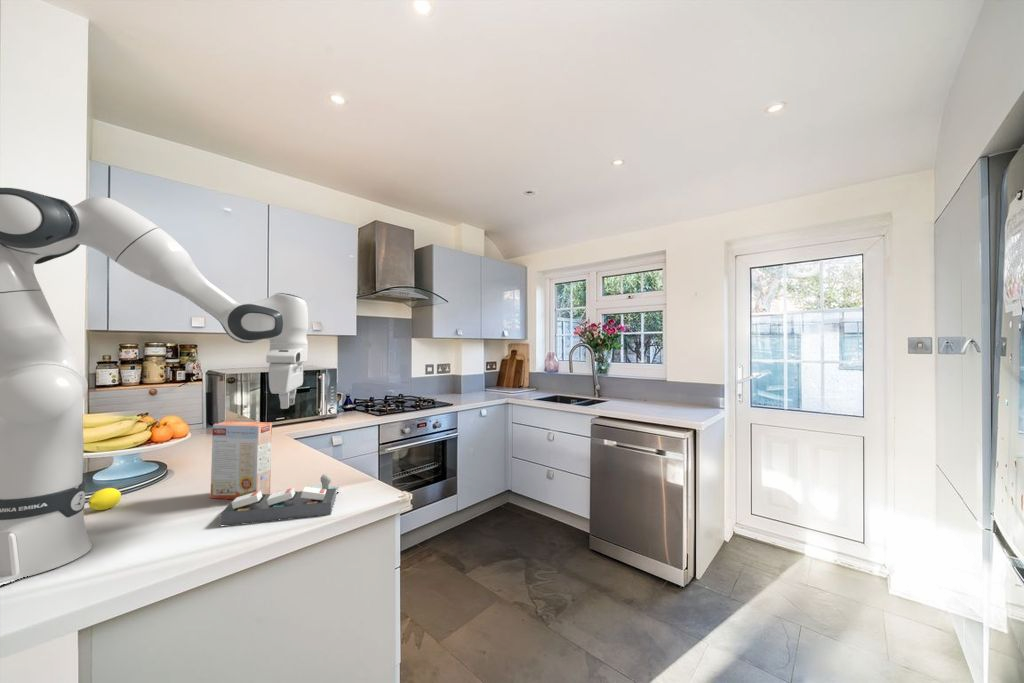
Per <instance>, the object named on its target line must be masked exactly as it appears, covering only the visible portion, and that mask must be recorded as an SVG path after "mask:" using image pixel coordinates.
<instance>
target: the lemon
mask: <svg viewBox="0 0 1024 683" xmlns="http://www.w3.org/2000/svg"><path fill="white" fill-rule="evenodd" d="M121 499H122V492H121V491H119V490H118V489H117V488H114V487H106V488H102V489H99V490H98V491H96V492H94V493H93V494H92V495H91V496H90V497H89V498H88V502H87V505H88V507H89V509H93V510H94V511H105V510H109V508H110V509H111V508H113V507H116V505H117V504H118V503H120V501H121Z"/></svg>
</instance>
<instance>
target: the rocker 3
mask: <svg viewBox="0 0 1024 683" xmlns="http://www.w3.org/2000/svg"><path fill="white" fill-rule="evenodd" d="M326 491H327V489H319V488H313V487H312V486H311V487H310V486H304V488H303V490H302V494H301V498H308V499H316V500H323V499H324V497H325V494H326Z"/></svg>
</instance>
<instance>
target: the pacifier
mask: <svg viewBox="0 0 1024 683" xmlns="http://www.w3.org/2000/svg"><path fill="white" fill-rule="evenodd" d="M319 481H320V483H321V485H314V486H313V487H312V488H319V489H333V488H336V490H337V491H336V494H338V493H337V492H339V491H340V492H341V490H340V489H339V488H340V487H339V486H330V483H331V482H332V478H331V476H330V475H328V474H326V473H324V474H322V475H321V476H320V479H319ZM340 492H339V493H340Z"/></svg>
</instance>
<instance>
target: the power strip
mask: <svg viewBox="0 0 1024 683" xmlns="http://www.w3.org/2000/svg"><path fill="white" fill-rule="evenodd" d="M302 491H303V490H302ZM302 491H297V490H296V491H295V495H294V496H293V498H291V499H288V500H285V501H282V502H279V503H276V504H272V505H269V506H268V502H267V499H268V498H269V496H270V495H271V494H272V493H269V494H266V495H265V494H262V497H261V499H260V500H259V501H258V502H255V503H251V504H248V505H245V506H242V507H238V508H235V509H233V506H232V502H233V501H234V500H235V499H236V498H237V497H236V498H235V499H232V501H231V502H230V503H229V504H227V506H226V507H225V508H224V509H223V510H222V512H221V513H220V526H221V525H230V526H233V525H232V524H239V525H243V524H242V523H249V524H255V523H254V522H258V523H263V521H267V522H273V521H272V520H276V521H280V520H279V519H286V520H289V519H288V518H295V519H299V518H298V517H304V518H309V517H308V516H313V517H318V516H317V515H323V516H327V515H326V514H332V512H333V509H332V508H334V506H335V503H336V500H335V499H336V498H337V497H336V496H337V493H336V488H333V489H327V491H326V494H325V497H324V499H323V500H316V499H308V498H301V494H302ZM334 502H335V503H334ZM333 505H334V506H333ZM252 522H253V523H252Z"/></svg>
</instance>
